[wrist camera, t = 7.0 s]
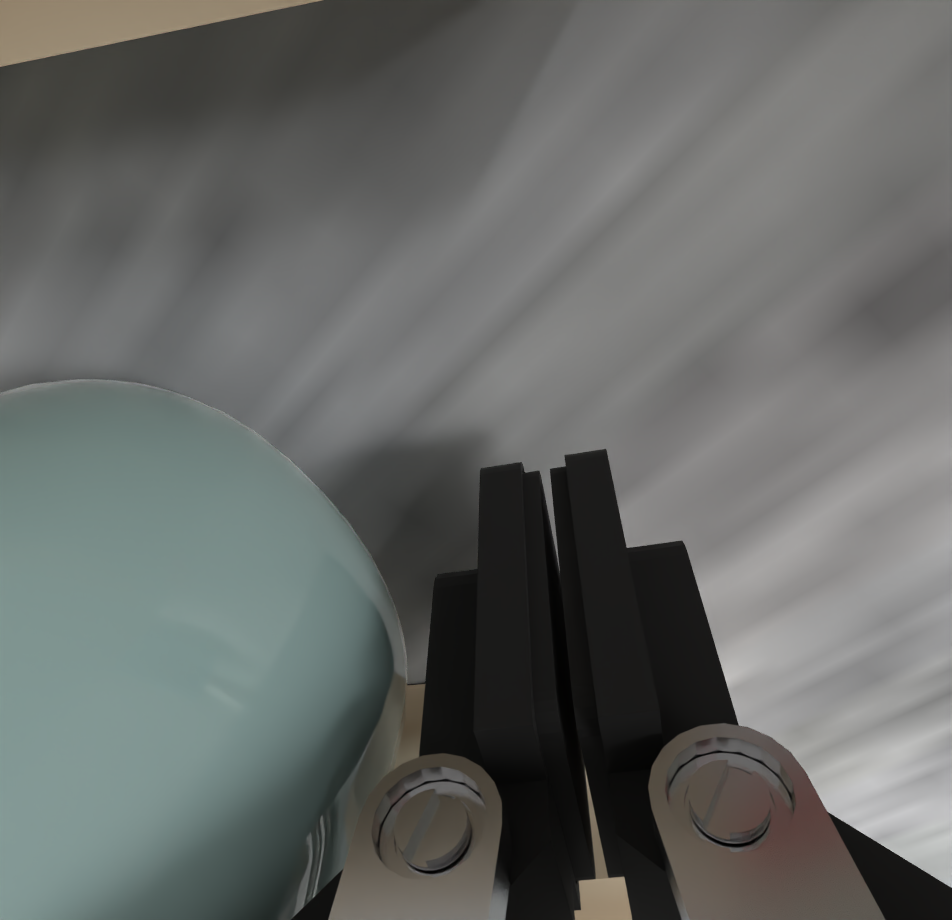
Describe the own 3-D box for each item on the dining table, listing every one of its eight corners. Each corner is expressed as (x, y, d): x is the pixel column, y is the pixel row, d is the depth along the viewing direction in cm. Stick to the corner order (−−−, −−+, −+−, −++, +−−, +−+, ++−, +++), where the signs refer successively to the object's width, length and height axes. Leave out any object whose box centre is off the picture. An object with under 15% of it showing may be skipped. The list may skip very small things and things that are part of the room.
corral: (-929, 28, 9) (-1696, 105, 6) (614, -363, 7) (713, -574, 4) (-110, 790, 18) (-240, 983, 15) (671, 723, 16) (715, 932, 13)
